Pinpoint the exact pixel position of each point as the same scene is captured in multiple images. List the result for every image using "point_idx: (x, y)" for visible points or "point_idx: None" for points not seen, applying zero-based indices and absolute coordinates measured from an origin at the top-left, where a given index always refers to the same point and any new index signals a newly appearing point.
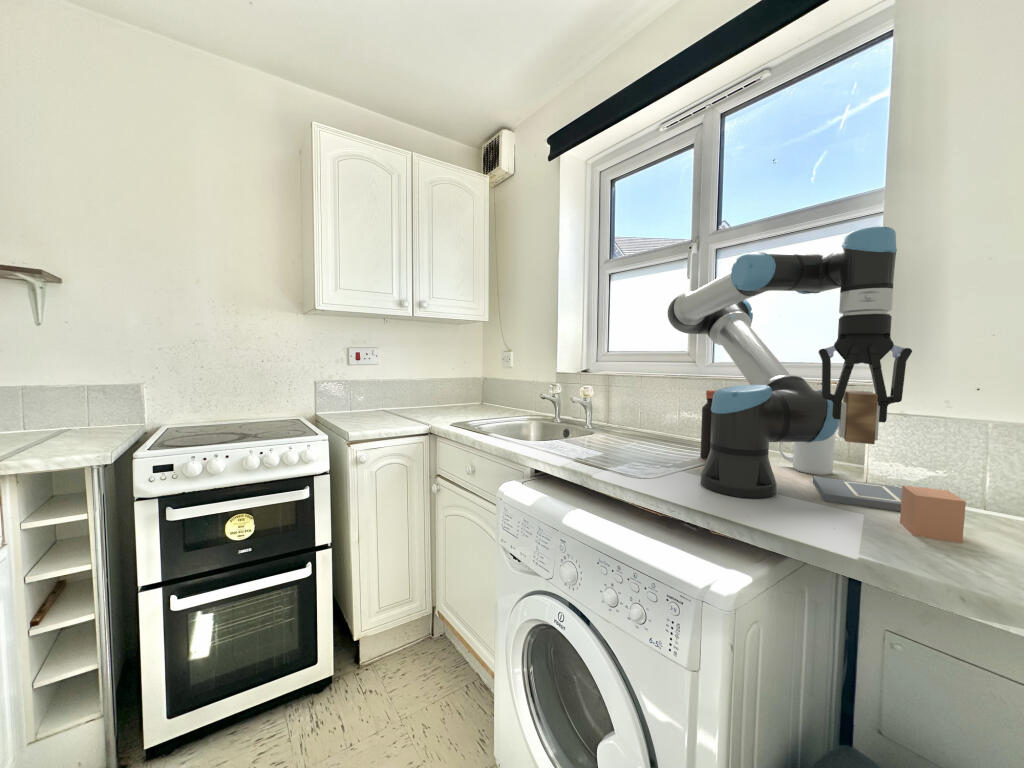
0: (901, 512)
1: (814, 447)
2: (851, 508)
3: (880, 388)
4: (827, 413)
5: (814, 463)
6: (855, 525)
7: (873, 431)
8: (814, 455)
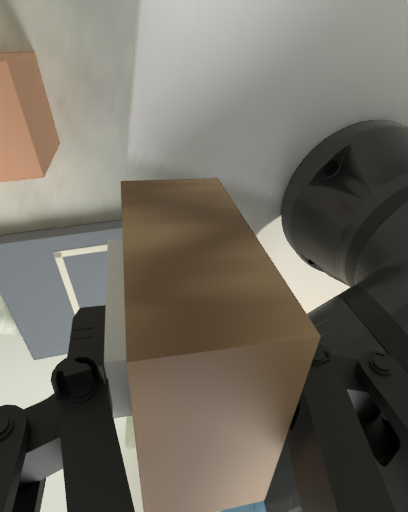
0: (54, 145)
1: None
2: None
3: (102, 493)
4: None
5: None
6: (149, 52)
7: (129, 207)
8: None
